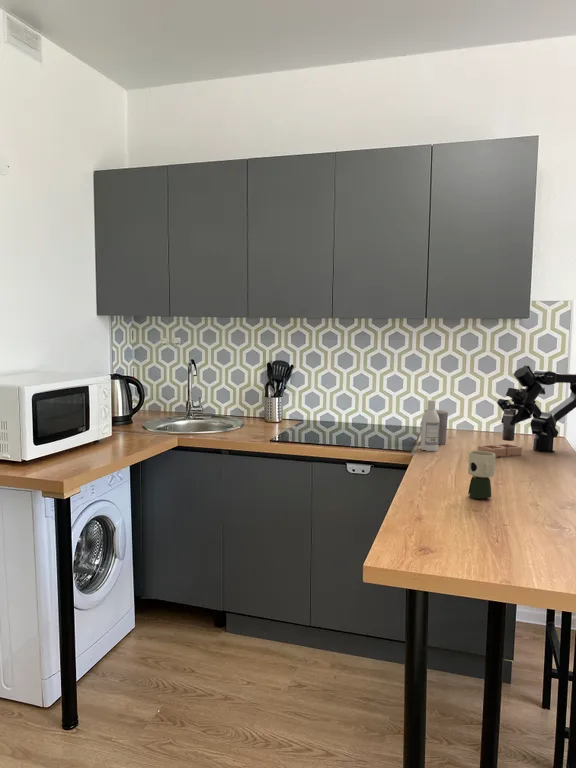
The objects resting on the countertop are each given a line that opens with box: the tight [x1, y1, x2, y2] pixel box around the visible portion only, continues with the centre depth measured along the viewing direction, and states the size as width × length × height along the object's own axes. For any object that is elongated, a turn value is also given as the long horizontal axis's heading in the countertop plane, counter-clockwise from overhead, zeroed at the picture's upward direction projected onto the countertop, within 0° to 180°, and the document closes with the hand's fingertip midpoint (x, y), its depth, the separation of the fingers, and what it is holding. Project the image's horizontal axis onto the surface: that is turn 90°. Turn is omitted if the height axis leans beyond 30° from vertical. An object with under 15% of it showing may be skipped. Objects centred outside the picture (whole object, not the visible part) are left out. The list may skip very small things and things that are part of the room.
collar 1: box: [477, 444, 507, 458], centre depth 231 cm, size 7×7×3 cm
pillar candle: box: [424, 408, 449, 445], centre depth 253 cm, size 10×10×15 cm
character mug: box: [467, 450, 496, 500], centre depth 169 cm, size 11×7×13 cm, turn 1°
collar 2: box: [495, 443, 523, 457], centre depth 235 cm, size 7×7×3 cm
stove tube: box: [501, 409, 517, 442], centre depth 234 cm, size 4×4×12 cm
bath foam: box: [419, 399, 440, 452], centre depth 236 cm, size 7×7×20 cm
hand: (506, 423), depth 233 cm, fingers closed on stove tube, 4 cm apart
